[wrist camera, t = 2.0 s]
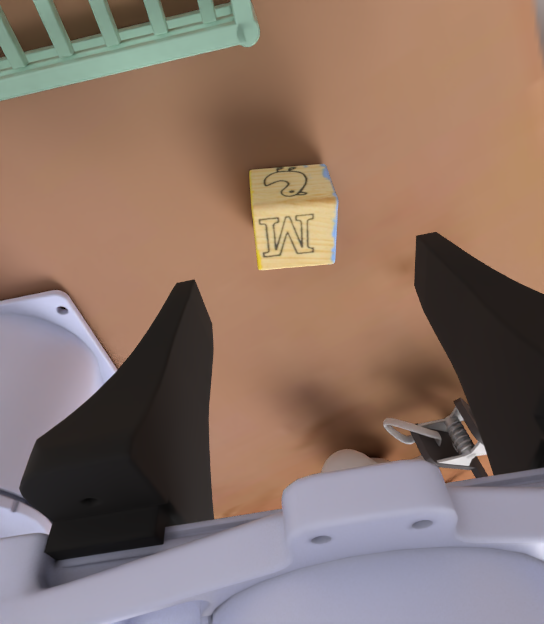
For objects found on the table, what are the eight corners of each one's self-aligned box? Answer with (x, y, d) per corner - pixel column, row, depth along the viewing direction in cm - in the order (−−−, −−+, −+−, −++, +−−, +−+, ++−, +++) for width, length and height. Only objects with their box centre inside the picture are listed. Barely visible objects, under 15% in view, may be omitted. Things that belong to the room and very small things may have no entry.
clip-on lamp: (488, 441, 39) (464, 366, 26) (533, 514, 35) (533, 473, 22) (369, 492, 42) (289, 450, 28) (399, 566, 38) (323, 559, 24)
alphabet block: (324, 226, 20) (336, 267, 18) (254, 233, 20) (258, 275, 17) (325, 160, 18) (340, 196, 15) (247, 167, 18) (251, 205, 15)
